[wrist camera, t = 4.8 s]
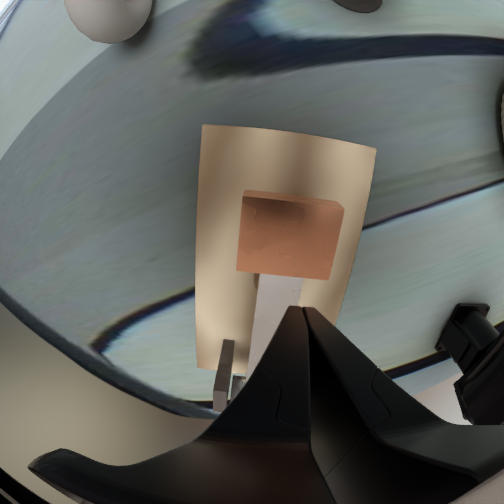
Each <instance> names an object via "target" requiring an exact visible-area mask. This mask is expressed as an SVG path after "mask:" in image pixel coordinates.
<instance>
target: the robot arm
mask: <svg viewBox="0 0 504 504" xmlns="http://www.w3.org/2000/svg"><path fill="white" fill-rule="evenodd" d="M489 309H490V306H489V305H487V304H458V305H457V306H456V308H455V310H454V312H453V314H452V316H451V318H450V320H449V322H448V324H447V326H446V328H445V330H444V332H443V334H442V336H441V338H440V340H439V341H438V343H437V345H436V347H435V349H436V351H448V352H449V354H450V355H451V357H452V359H453V360H454V362H455V363H457V365H458V366H459V368H460V369H461V371H462V373H463V374H464V375H463V376H462V377H461V378H460V379H459V380H458V381H456V382H455V383H454V384H453V385H454V387H455V392H456V395H457V398H458V401H459V405H460V408H461V411H462V414H463V418H464V419H465V420H468V421H469V422H470V423H471V424H473V425H457V424H452V423H449V422H447V421H444V420H443V419H441V418H440V417H438V416H437V415H435V414H434V413H433V412H431V411H430V410H429V409H427V408H426V407H425V406H423V405H422V404H421V403H419V402H418V401H417V400H416V399H414V398H413V397H412V396H410V395H409V394H408V393H407V392H405V391H404V390H403V389H402V388H401V387H399V386H398V385H397V384H396V383H395V382H394V381H392V380H391V379H390V378H389V377H388V376H387V375H386V374H385V373H384V372H383V371H382V370H380V369H379V368H377V366H376V365H375V364H374V363H373V362H372V361H371V360H370V359H369V358H368V357H367V356H366V355H365V354H363V353H362V352H361V351H360V350H359V349H358V348H357V347H356V346H355V345H354V344H353V343H352V342H351V341H350V340H349V339H348V338H346V337H345V336H344V335H343V334H342V333H341V332H340V331H339V330H338V329H337V328H336V327H335V326H334V325H333V324H332V323H331V322H330V321H328V320H327V319H326V318H325V317H324V316H323V315H322V314H321V313H320V312H319V311H318V310H317V309H316V308H314V307H305V306H304V307H301V306H293V305H289V306H288V308H287V310H286V312H285V314H284V316H283V317H282V319H281V321H280V323H279V325H278V327H277V329H276V331H275V333H274V335H273V336H272V338H271V340H270V342H269V344H268V346H267V348H266V349H265V351H264V353H263V355H262V357H261V359H260V360H259V362H258V364H257V366H256V367H255V369H254V371H253V373H252V374H251V376H250V377H249V379H248V381H247V382H246V384H245V385H244V387H243V388H242V389H241V390H240V392H239V393H238V394H237V395H236V397H235V398H234V399H233V400H232V401H231V403H230V404H229V405H228V406H227V407H226V408H225V409H224V410H223V411H222V413H221V414H220V415H219V416H218V417H217V418H216V419H215V420H214V421H213V422H212V424H211V425H210V426H209V427H208V428H207V429H206V430H205V431H204V432H203V433H201V434H200V435H199V436H198V437H197V438H195V439H194V440H192V441H191V442H189V443H187V444H184V445H182V446H180V447H177V448H175V449H173V450H171V451H168V452H166V453H163V454H161V455H158V456H156V457H153V458H150V459H148V460H145V461H143V462H140V463H137V464H132V465H128V466H114V465H107V464H103V463H100V462H97V461H95V460H92V459H90V458H88V457H85V456H83V455H81V454H79V453H76V452H74V451H71V450H68V449H62V448H60V449H57V450H54V451H52V452H49V453H46V454H43V455H41V456H39V457H37V458H36V459H34V460H33V461H32V462H31V463H30V464H29V465H28V469H29V470H30V471H31V472H32V473H34V474H35V475H36V476H38V477H39V478H40V479H42V480H43V481H44V482H46V483H48V484H49V485H50V486H52V487H53V488H55V489H56V490H58V491H59V492H61V493H62V494H64V495H66V496H67V497H69V498H71V499H72V500H74V501H76V502H77V503H79V504H504V329H503V330H502V331H501V333H500V334H499V333H498V332H497V330H496V329H495V328H494V327H493V326H492V324H491V323H490V322H489V321H488V320H487V319H486V318H485V317H486V315H487V313H488V311H489ZM0 504H51V503H49V502H48V501H46V500H45V499H43V498H41V497H40V496H38V495H37V494H35V493H34V492H32V491H31V490H30V489H28V488H27V487H25V486H24V485H22V484H21V483H20V482H18V481H17V480H16V479H14V478H13V477H12V476H11V475H9V474H8V473H7V472H6V471H4V470H3V469H2V468H1V467H0Z"/></svg>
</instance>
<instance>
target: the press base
mask: <svg viewBox="0 0 504 504" xmlns="http://www.w3.org/2000/svg"><path fill="white" fill-rule="evenodd" d="M376 150H377V149H376V148H372V147H368V146H364V145H359V144H355V143H350V142H345V141H341V140H335V139H330V138H325V137H319V136H313V135H307V134H301V133H294V132H287V131H279V130H271V129H261V128H251V127H239V126H225V125H204V124H203V125H202V137H201V149H200V163H199V179H198V198H197V222H196V269H195V300H196V346H197V368H203V369H210V370H217V374H216V379H215V384H214V389H213V411H217V412H222V411H223V410H224V409H225V408H226V405H227V399H228V392H229V385H230V378H231V372H232V373H240V374H246V372H247V365H248V358H249V351H250V343H251V336H252V328H253V321H254V313H255V306H256V298H257V290H258V282H259V275H260V273H251V272H242V271H236V265H237V253H238V241H239V230H240V219H241V208H242V197H243V193H244V191H245V189H246V190H256V191H265V192H273V193H282V194H289V195H297V196H304V197H312V198H318V199H325V200H332V201H337V202H338V203H339V204H340V205H341V206H342V207H343V208H344V209H345V211H344V216H343V221H342V226H341V230H340V235H339V239H338V244H337V248H336V253H335V257H334V261H333V265H332V269H331V273H330V277H329V281H328V280H318V279H308V278H304V280H303V285H302V289H301V294H300V298H299V303H298V306H301V307H304V306H305V307H314V308H316V309H317V310H318V311H319V312H320V313H321V314H322V315H323V316H324V317H325V318H326V319H327V320H328V321H330V322H331V323H332V324H333V325H334V326H335V323H336V320H337V317H338V314H339V311H340V308H341V304H342V301H343V298H344V295H345V291H346V288H347V284H348V281H349V277H350V274H351V270H352V266H353V263H354V259H355V255H356V251H357V247H358V243H359V239H360V235H361V230H362V226H363V221H364V217H365V212H366V207H367V202H368V197H369V192H370V187H371V181H372V175H373V169H374V163H375V157H376Z"/></svg>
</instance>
